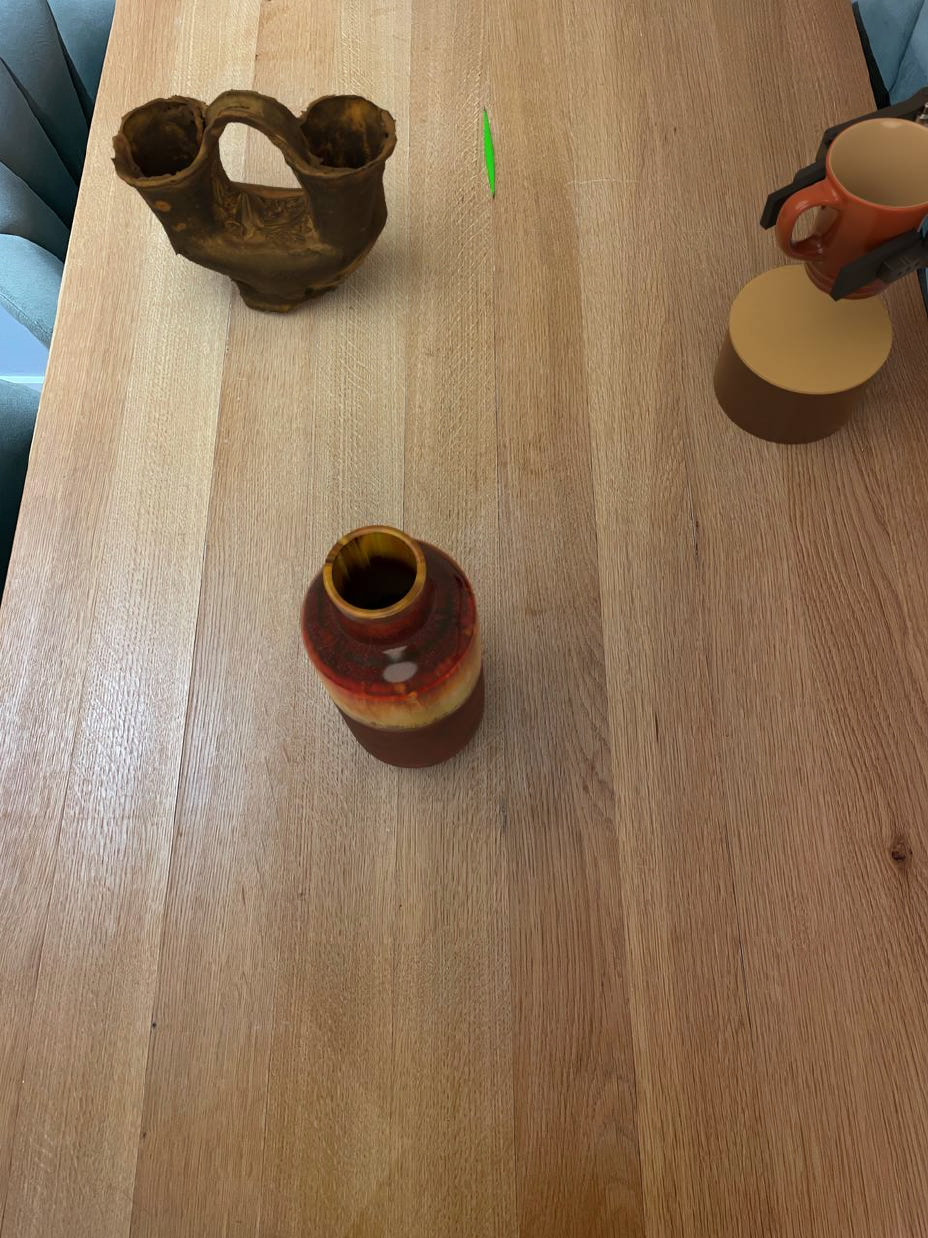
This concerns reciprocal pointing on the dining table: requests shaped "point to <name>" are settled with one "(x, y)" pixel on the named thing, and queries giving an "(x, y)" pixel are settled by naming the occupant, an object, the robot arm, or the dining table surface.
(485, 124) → the leaf
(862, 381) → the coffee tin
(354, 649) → the vase
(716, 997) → the dining table surface
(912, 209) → the mug
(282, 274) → the pottery vessel
